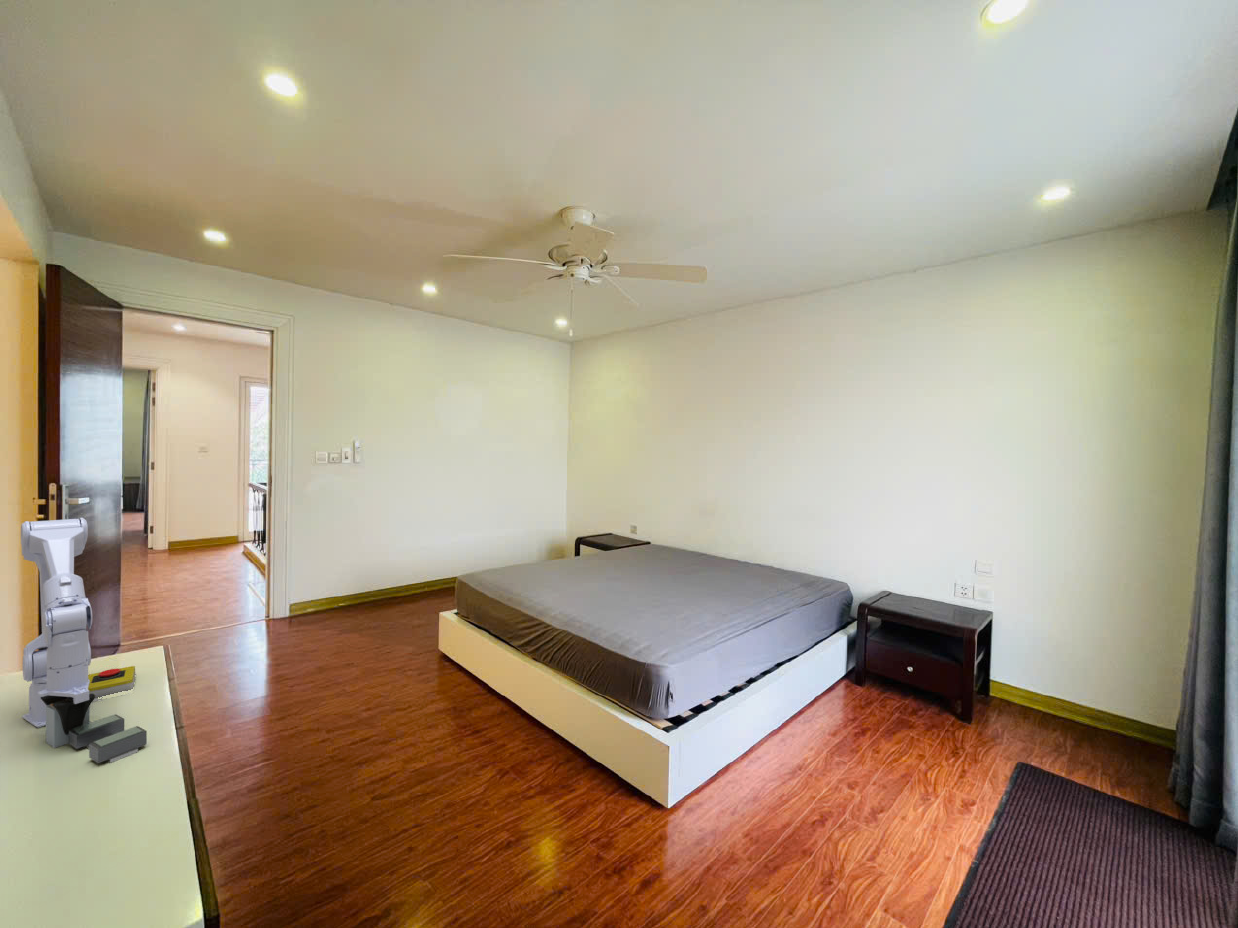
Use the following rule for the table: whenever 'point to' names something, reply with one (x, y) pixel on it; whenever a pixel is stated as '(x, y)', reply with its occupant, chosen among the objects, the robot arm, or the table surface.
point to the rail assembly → (108, 739)
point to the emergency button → (111, 681)
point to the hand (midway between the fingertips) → (67, 729)
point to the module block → (58, 727)
